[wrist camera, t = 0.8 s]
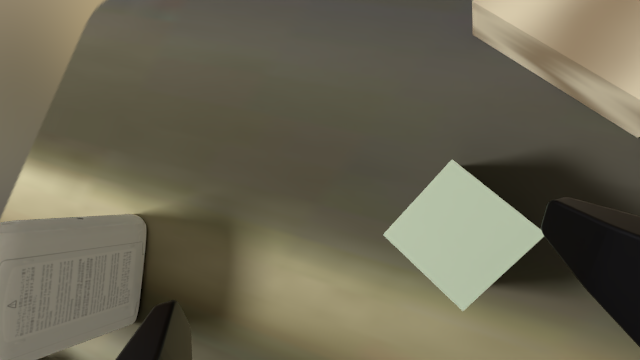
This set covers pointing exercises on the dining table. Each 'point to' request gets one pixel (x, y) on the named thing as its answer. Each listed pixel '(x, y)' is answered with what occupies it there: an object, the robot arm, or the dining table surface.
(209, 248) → the dining table surface
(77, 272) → the photo printer
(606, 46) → the oak block
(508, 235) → the sage cube
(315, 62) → the dining table surface
